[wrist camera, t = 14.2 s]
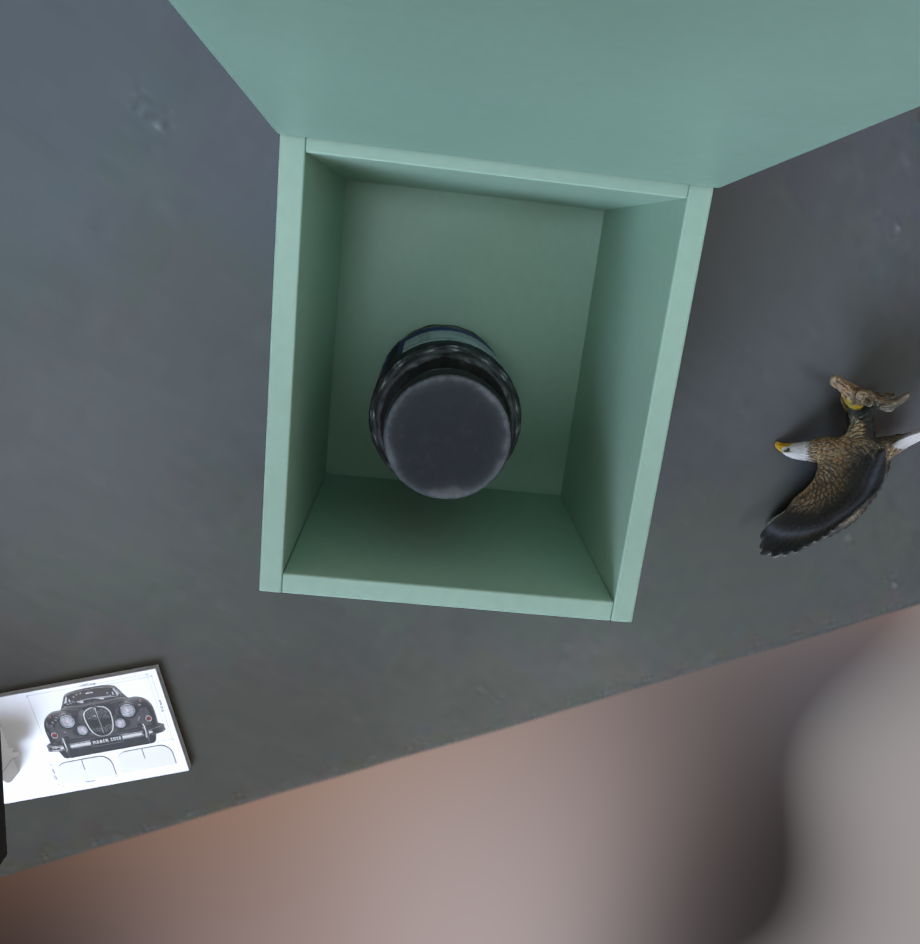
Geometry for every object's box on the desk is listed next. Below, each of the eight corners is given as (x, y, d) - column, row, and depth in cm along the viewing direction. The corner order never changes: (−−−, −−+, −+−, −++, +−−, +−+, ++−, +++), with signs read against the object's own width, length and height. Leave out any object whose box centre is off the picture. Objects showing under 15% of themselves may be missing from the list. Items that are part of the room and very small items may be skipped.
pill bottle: (448, 469, 41) (455, 551, 30) (353, 392, 39) (326, 450, 29) (529, 377, 39) (566, 428, 29) (434, 294, 38) (436, 317, 28)
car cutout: (-64, 811, 46) (-114, 871, 42) (-108, 713, 44) (-166, 764, 40) (191, 765, 46) (167, 820, 42) (158, 664, 44) (128, 711, 40)
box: (570, 506, 42) (632, 623, 30) (311, 481, 41) (258, 591, 29) (620, 195, 38) (716, 175, 25) (331, 160, 37) (280, 121, 24)
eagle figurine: (755, 364, 39) (713, 543, 40) (905, 379, 34) (853, 586, 35) (831, 390, 44) (793, 549, 45) (974, 407, 38) (927, 588, 39)
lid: (1264, -32, 9) (1288, -118, 9) (-19, -224, 8) (-19, -324, 8) (719, 188, 25) (724, 159, 25) (276, 133, 24) (278, 103, 24)
